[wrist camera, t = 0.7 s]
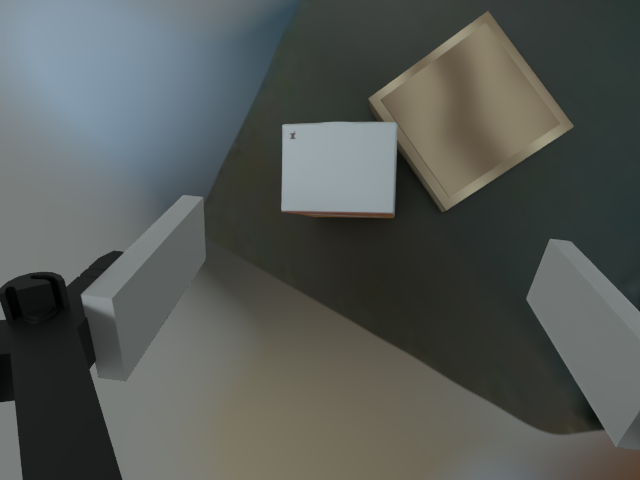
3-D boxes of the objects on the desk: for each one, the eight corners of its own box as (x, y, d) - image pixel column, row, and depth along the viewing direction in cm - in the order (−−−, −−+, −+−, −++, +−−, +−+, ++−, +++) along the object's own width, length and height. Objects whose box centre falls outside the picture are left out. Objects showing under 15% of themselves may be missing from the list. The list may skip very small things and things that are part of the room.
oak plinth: (478, 33, 39) (488, 8, 35) (555, 137, 38) (575, 125, 34) (371, 111, 41) (368, 97, 37) (441, 212, 40) (446, 210, 36)
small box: (314, 218, 42) (278, 212, 29) (315, 155, 42) (279, 121, 29) (395, 219, 41) (395, 214, 28) (397, 154, 40) (397, 118, 28)
